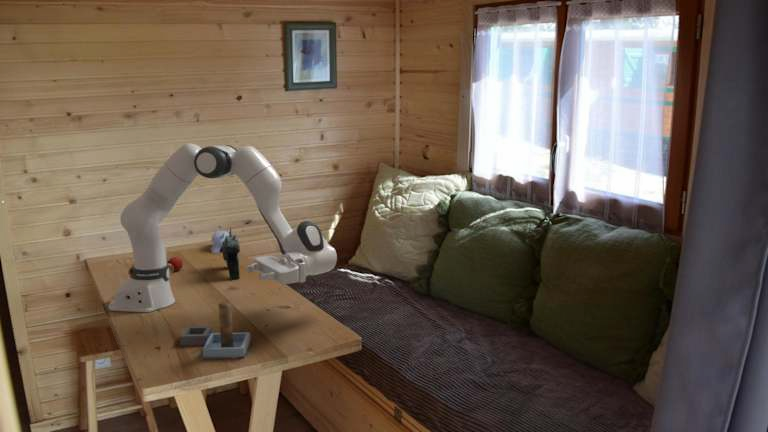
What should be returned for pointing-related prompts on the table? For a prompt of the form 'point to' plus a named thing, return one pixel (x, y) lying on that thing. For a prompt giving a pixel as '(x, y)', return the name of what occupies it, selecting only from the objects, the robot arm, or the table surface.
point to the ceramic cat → (231, 255)
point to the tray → (215, 350)
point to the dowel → (225, 324)
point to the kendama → (174, 264)
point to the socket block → (195, 335)
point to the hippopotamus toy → (218, 240)
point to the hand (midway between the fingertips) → (253, 273)
